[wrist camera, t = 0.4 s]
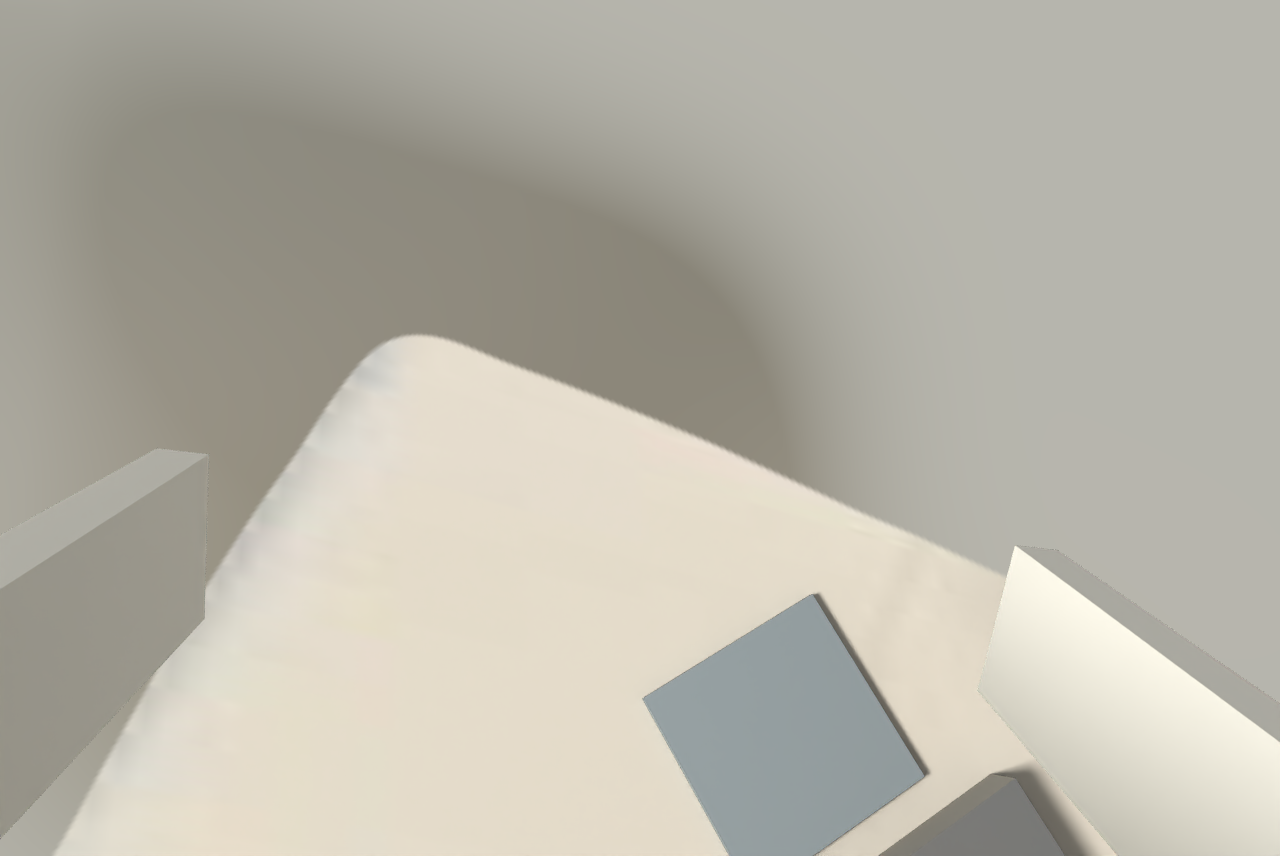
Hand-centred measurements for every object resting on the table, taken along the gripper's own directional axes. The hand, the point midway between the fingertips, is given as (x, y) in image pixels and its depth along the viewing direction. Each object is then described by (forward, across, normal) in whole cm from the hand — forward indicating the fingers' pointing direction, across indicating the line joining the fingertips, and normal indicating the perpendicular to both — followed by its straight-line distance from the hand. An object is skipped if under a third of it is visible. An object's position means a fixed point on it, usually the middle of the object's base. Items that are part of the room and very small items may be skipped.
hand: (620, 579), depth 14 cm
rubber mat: (+27, -13, +20) cm, 36 cm away
